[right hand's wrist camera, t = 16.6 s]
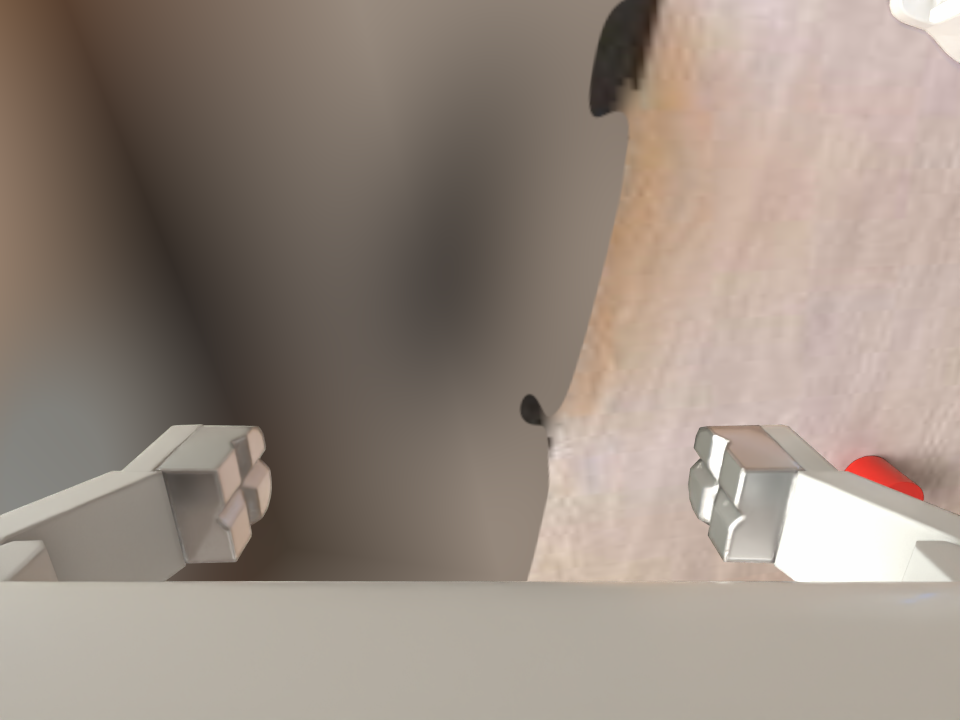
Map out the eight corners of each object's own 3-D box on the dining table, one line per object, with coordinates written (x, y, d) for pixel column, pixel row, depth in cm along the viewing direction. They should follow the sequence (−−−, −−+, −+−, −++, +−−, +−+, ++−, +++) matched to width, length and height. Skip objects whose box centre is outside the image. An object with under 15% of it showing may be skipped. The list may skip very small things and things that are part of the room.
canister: (833, 488, 53) (863, 517, 49) (856, 451, 52) (888, 477, 47) (874, 498, 54) (907, 527, 49) (898, 461, 52) (934, 488, 48)
